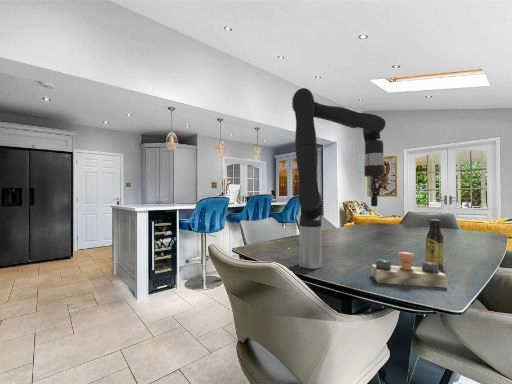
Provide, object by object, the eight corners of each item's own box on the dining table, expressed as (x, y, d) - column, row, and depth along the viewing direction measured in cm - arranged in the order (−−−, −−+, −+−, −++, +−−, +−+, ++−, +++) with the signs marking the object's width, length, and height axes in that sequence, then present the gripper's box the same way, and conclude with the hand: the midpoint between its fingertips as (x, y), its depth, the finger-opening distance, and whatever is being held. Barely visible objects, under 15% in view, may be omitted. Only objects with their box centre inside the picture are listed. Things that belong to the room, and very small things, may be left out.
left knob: (377, 280, 91) (377, 262, 91) (374, 276, 96) (374, 258, 96) (392, 281, 90) (392, 263, 90) (388, 277, 95) (388, 259, 95)
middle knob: (401, 273, 90) (401, 254, 90) (396, 269, 94) (396, 251, 94) (416, 273, 89) (416, 255, 89) (411, 270, 93) (411, 252, 93)
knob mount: (377, 282, 89) (377, 271, 89) (371, 274, 98) (371, 264, 98) (446, 287, 85) (446, 275, 85) (434, 278, 93) (433, 267, 94)
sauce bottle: (422, 263, 114) (422, 218, 114) (436, 263, 114) (436, 218, 114) (432, 267, 108) (431, 220, 108) (447, 268, 107) (446, 220, 108)
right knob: (425, 283, 88) (425, 264, 88) (419, 279, 93) (419, 261, 93) (441, 284, 87) (441, 265, 87) (434, 280, 92) (434, 262, 92)
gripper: (362, 166, 115) (362, 205, 115) (367, 163, 103) (367, 206, 102) (380, 166, 114) (380, 205, 113) (387, 162, 101) (388, 207, 101)
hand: (374, 206), depth 108 cm, fingers closed
